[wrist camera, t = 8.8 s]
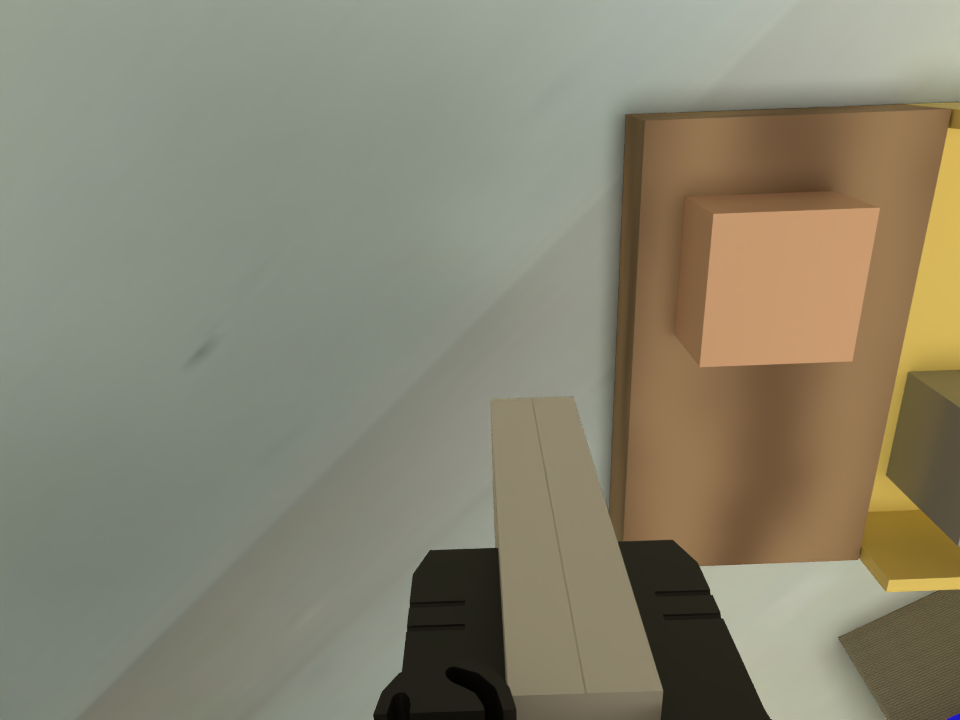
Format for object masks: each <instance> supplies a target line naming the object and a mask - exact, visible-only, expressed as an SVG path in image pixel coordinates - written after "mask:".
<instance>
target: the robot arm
mask: <svg viewBox="0 0 960 720" xmlns="http://www.w3.org/2000/svg"><path fill="white" fill-rule="evenodd" d="M491 431H492V466H493V500H494V530H495V548H482V549H452V550H430V551H429V552H428V554H427V555H426V556H425V558H424V559H423V561H422V562H421V564H420V565H419V566H418V568H417V569H416V571H415V572H414V574H413V578H412V587H411V596H410V608H409V614H408V623H407V632H406V641H405V650H404V659H403V668H402V672H401V673H399V674H398V675H397V676H396V677H395V678H394V679H393V680H392V682H391V683H390V684H389V685H388V686H387V687H386V688H385V689H384V690H383V691H382V693H381V696H380V698H379V701H378V703H377V706H376V709H375V711H374V714H373V716H374V720H772V719H770V717H769V716H768V714H767V713H766V711H765V709H764V707H763V705H762V703H761V701H760V699H759V696H758V694H757V692H756V690H755V688H754V685H753V683H752V681H751V679H750V677H749V674H748V672H747V670H746V668H745V666H744V663H743V661H742V659H741V657H740V655H739V652H738V650H737V648H736V646H735V644H734V641H733V639H732V637H731V635H730V633H729V630H728V628H727V626H726V624H725V622H724V619H721V615H720V611H719V608H718V606H717V604H716V602H715V600H714V597H713V595H711V594H710V589H709V586H708V584H707V582H706V580H705V578H704V575H703V573H702V571H701V569H700V567H699V564H698V562H697V561H696V560H694V559H693V558H692V557H691V556H690V555H689V554H688V553H687V552H686V551H685V550H684V549H682V548H681V547H680V546H679V545H678V544H677V543H676V542H675V541H674V540H647V541H618V542H617V538H616V535H615V532H614V529H613V525H612V522H611V519H610V516H609V512H608V509H607V506H606V503H605V499H604V496H603V493H602V490H601V486H600V483H599V480H598V477H597V473H596V470H595V467H594V464H593V460H592V457H591V454H590V451H589V447H588V444H587V441H586V438H585V434H584V431H583V428H582V424H581V421H580V418H579V415H578V411H577V408H576V405H575V402H574V398H573V397H545V398H516V399H491Z"/></svg>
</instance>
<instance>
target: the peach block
mask: <svg viewBox="0 0 960 720" xmlns="http://www.w3.org/2000/svg"><path fill="white" fill-rule="evenodd" d="M879 211H880V207H877V206H874V205H871V204H868V203H865V202H863V201H860V200H857V199H854V198H851V197H848V196H845V195H843V194H840V193H837V192H834V191H821V192H795V193H768V194H742V195H716V196H689V197H685V206H684V219H683V233H682V246H681V259H680V272H679V286H678V299H677V312H676V325H675V336H676V337H677V338H678V340H679V341H680V342H681V344H682V345H683V346H684V348H685V349H686V350H687V352H688V353H689V354H690V355H691V357H692V358H693V359H694V361H695V362H696V363H697V365H698V366H699V367H719V366H745V365H771V364H797V363H823V362H849V361H852V360H853V355H854V349H855V344H856V338H857V333H858V327H859V322H860V316H861V311H862V305H863V300H864V294H865V289H866V283H867V277H868V272H869V266H870V261H871V255H872V250H873V244H874V239H875V233H876V228H877V222H878V217H879Z"/></svg>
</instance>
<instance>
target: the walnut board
mask: <svg viewBox="0 0 960 720" xmlns="http://www.w3.org/2000/svg"><path fill="white" fill-rule="evenodd" d="M951 112H952V109H946V108H935V107H925V106H914V105H903V104H892V105H866V106H839V107H813V108H786V109H760V110H733V111H707V112H680V113H653V114H627V115H626V125H625V149H624V172H623V196H622V220H621V244H620V268H619V292H618V316H617V339H616V363H615V387H614V411H613V435H612V459H611V482H610V506H609V516H610V519H611V522H612V525H613V529H614V532H615V535H616V538H617V542H618V541H647V540H674V541H675V542H676V543H677V544H678V545H679V546H680V547H681V548H682V549H684V550H685V551H686V552H687V553H688V554H689V555H690V556H691V557H692V558H693V559H694V560H696V561H697V562H698V564H699V566H715V565H740V564H765V563H791V562H816V561H842V560H858V558H859V553H860V549H861V544H862V539H863V534H864V529H865V525H866V520H867V515H868V510H869V505H870V501H871V496H872V491H873V486H874V481H875V477H876V472H877V467H878V462H879V457H880V453H881V448H882V443H883V438H884V433H885V429H886V424H887V419H888V414H889V409H890V404H891V400H892V395H893V390H894V385H895V380H896V376H897V371H898V366H899V361H900V356H901V352H902V347H903V342H904V337H905V332H906V328H907V323H908V318H909V313H910V308H911V304H912V299H913V294H914V289H915V284H916V280H917V275H918V270H919V265H920V260H921V256H922V251H923V246H924V241H925V236H926V232H927V227H928V222H929V217H930V212H931V208H932V203H933V198H934V193H935V188H936V184H937V179H938V174H939V169H940V164H941V160H942V155H943V150H944V145H945V140H946V136H947V131H948V126H949V121H950V116H951ZM821 191H834V192H837V193H840V194H843V195H845V196H848V197H851V198H854V199H857V200H860V201H863V202H865V203H868V204H871V205H874V206H877V207H880V211H879V217H878V222H877V228H876V233H875V239H874V244H873V250H872V255H871V261H870V266H869V272H868V277H867V283H866V289H865V294H864V300H863V305H862V311H861V316H860V322H859V327H858V333H857V338H856V344H855V349H854V355H853V360H852V361H849V362H823V363H797V364H771V365H745V366H719V367H699V366H698V365H697V363H696V362H695V361H694V359H693V358H692V357H691V355H690V354H689V353H688V352H687V350H686V349H685V348H684V346H683V345H682V344H681V342H680V341H679V340H678V338H677V337H676V336H675V325H676V312H677V299H678V286H679V272H680V259H681V246H682V233H683V219H684V206H685V197H689V196H716V195H742V194H768V193H795V192H821Z"/></svg>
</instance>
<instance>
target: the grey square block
mask: <svg viewBox="0 0 960 720" xmlns="http://www.w3.org/2000/svg"><path fill="white" fill-rule="evenodd" d="M886 476H887V477H888V478H889V479H890V480H891V481H892V482H893V483H894V484H895V485H896V486H897V487H898V488H899V489H900V490H901V491H902V492H903V493H904V494H905V495H906V496H907V497H908V498H909V499H910V500H911V501H912V502H913V503H914V504H915V505H916V506H917V507H918V508H919V509H920V510H921V511H922V512H923V513H924V514H925V515H926V516H927V517H929V518H930V519H931V520H932V521H933V522H934V523H935V524H936V525H937V526H938V527H939V528H940V529H941V530H942V531H943V532H944V533H945V534H946V535H947V536H948V537H949V538H950V539H951V540H952V541H953V542H954V543H955V544H956V545H957V546H960V370H938V371H911V372H908V374H907V379H906V384H905V388H904V393H903V397H902V402H901V407H900V411H899V416H898V421H897V425H896V430H895V435H894V439H893V444H892V448H891V453H890V458H889V462H888V467H887V472H886Z"/></svg>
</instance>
